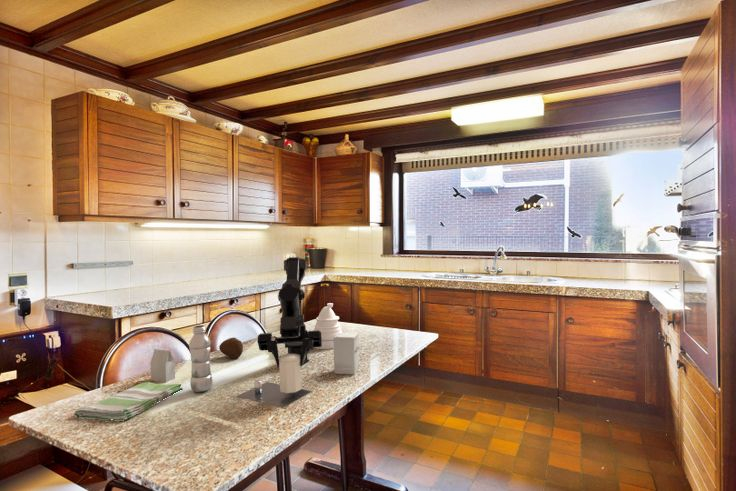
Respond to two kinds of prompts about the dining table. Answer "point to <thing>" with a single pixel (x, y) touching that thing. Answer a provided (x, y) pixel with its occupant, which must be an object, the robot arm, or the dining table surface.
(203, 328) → the plastic bottle
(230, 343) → the potato
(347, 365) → the supplement box
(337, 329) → the honey pot
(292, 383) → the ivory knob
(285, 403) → the plate
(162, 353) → the grey gabled carton
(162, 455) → the dining table surface
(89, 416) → the dish towel
